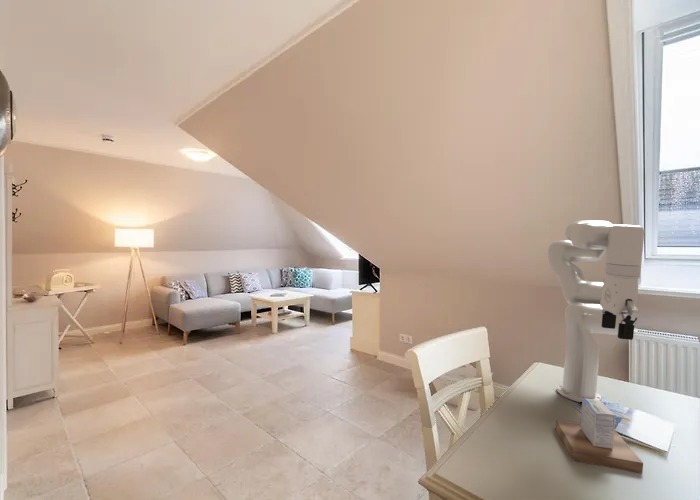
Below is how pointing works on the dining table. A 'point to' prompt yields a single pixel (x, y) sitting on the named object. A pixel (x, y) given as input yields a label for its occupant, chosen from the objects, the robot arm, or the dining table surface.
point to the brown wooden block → (597, 449)
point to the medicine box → (597, 423)
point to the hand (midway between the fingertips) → (616, 333)
